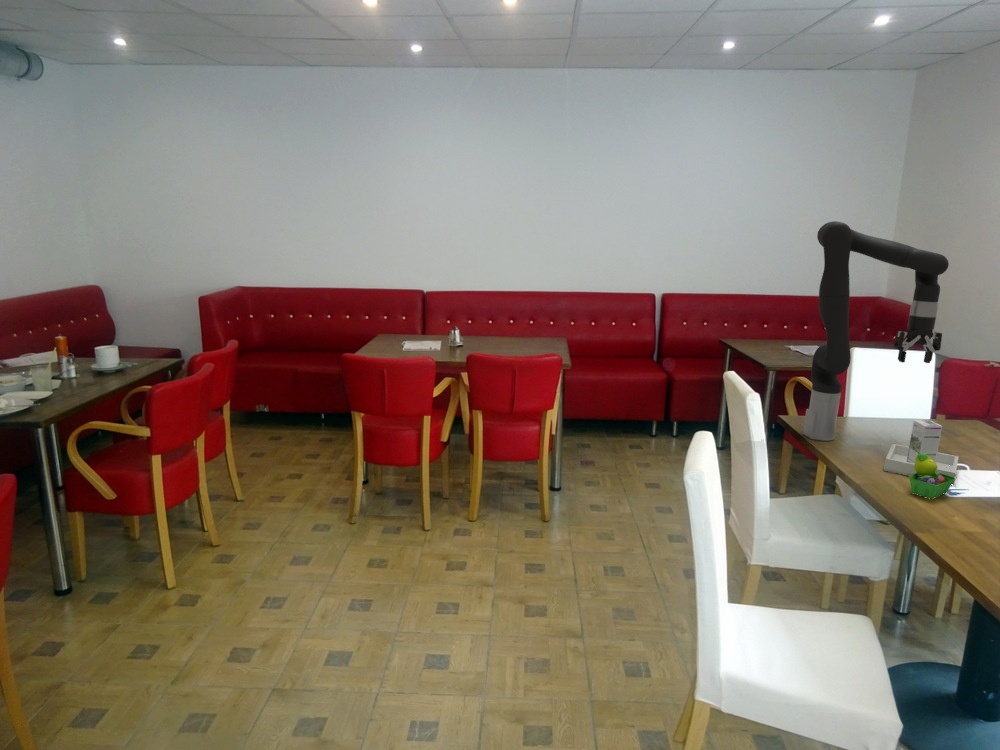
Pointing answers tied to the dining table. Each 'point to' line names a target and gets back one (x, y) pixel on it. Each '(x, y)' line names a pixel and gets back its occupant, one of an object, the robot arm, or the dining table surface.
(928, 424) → the syrup box
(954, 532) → the dining table surface
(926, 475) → the fruit basket
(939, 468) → the tray
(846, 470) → the dining table surface
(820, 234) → the robot arm
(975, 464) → the dining table surface
